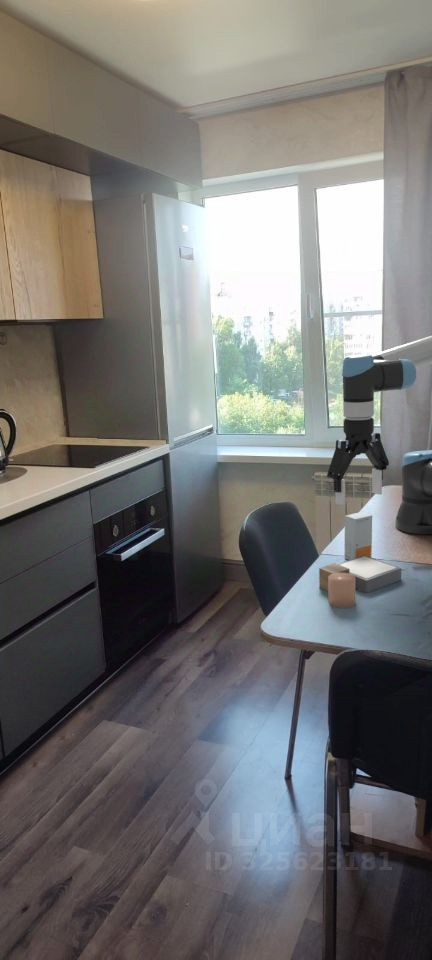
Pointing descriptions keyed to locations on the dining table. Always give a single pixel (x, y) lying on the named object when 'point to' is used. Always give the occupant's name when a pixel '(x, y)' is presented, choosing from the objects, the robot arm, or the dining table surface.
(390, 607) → the dining table surface
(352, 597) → the peach rounded capsule
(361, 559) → the podium
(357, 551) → the skincare box
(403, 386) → the robot arm
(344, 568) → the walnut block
